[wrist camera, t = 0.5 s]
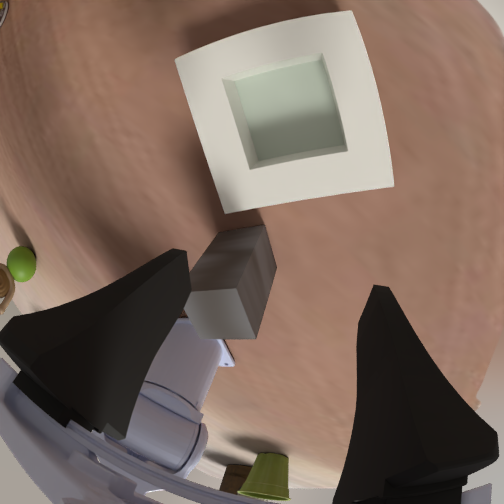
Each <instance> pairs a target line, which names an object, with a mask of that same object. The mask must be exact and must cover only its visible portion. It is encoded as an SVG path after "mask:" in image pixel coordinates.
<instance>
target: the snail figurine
mask: <svg viewBox="0 0 504 504" xmlns="http://www.w3.org/2000/svg"><path fill="white" fill-rule="evenodd" d="M35 270H36V259H35V256H34V254H33V253H32V251H31V250H30V249H28V248H26V247H23V246H19V247H16V248H14V249H13V250H12V251H11V252H10V253H9V255H8V258H7V266H6V265H4V264H1V263H0V298H3V297H5V298H4V300H3V302H2V303H1V304H0V314H3V312H5V309H6V308H7V306H8V305H9V303H10V301H11V300H12V298H13V295H14V292H15V283H14V280H16V281H18V282H26V281H28V280H29V279H31V278H32V276H33V275H34V273H35Z"/></svg>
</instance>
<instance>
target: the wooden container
mask: <svg viewBox="0 0 504 504" xmlns="http://www.w3.org/2000/svg"><path fill="white" fill-rule="evenodd" d="M251 469H252V467H250V466H244V465H228V466H227V468H226V471H225V474H224V477H223V480H222V483H221V486H220V491H223V492H227V493H231V494H235V495H239V496H243V497H247V498H252V499H256V500H262V501H267V502H268V500H267V499H260V498H255V497H250V496H246V495H243V494H240V493H238V492H237V491H239V490H240V489H241V487H242V485H243V483H245V481H246V479H247V477H248V475H249V473H250V471H251Z"/></svg>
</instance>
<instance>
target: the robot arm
mask: <svg viewBox="0 0 504 504" xmlns="http://www.w3.org/2000/svg"><path fill="white" fill-rule="evenodd" d="M191 291H192V288H191V281H190V274H189V267H188V260H187V252H186V251H184V250H178V249H171V250H169V251H167V252H165V253H163V254H162V255H160V256H158V257H156V258H155V259H153V260H151V261H150V262H148V263H146V264H145V265H143V266H141V267H140V268H138V269H136V270H134V271H133V272H131V273H129V274H128V275H126V276H124V277H122V278H120V279H118V280H117V281H115V282H113V283H111V284H109V285H108V286H106V287H104V288H102V289H100V290H98V291H95V292H93V293H91V294H89V295H86V296H84V297H82V298H79V299H76V300H74V301H71V302H68V303H66V304H63V305H60V306H57V307H54V308H51V309H47V310H43V311H39V312H35V313H30V314H25V315H20V316H14V317H13V318H11V320H10V321H9V322H8V323H7V324H6V325H5V326H4V328H3V329H2V330H1V331H0V345H1V347H2V348H3V349H4V350H5V352H6V353H7V354H8V355H9V356H10V358H11V359H12V360H13V361H14V362H15V364H16V365H17V366H18V367H19V368H20V369H21V371H20V372H19V374H17V373H16V371H15V370H14V369H13V368H12V367H10V365H8V363H7V362H6V361H5V360H4V359H3V358H0V435H1V437H2V439H3V440H4V442H5V443H6V445H7V446H8V448H9V449H10V450H11V452H12V453H13V455H14V457H15V458H16V459H17V461H18V462H19V463H20V465H21V466H22V468H23V469H24V470H25V471H26V473H27V474H28V475H29V477H30V478H31V479H32V480H33V481H34V483H35V484H36V485H37V486H38V487H39V489H40V490H41V491H42V492H43V493H44V494H45V495H46V496H47V497H48V498H49V500H50V501H51V502H52V503H53V504H162V503H160V502H158V501H155V500H153V499H151V498H148V497H146V496H145V494H146V493H147V492H151V491H160V490H166V491H168V492H171V493H173V494H176V495H178V496H181V497H184V498H186V499H189V500H192V501H195V502H198V503H201V504H278V503H273V502H267V501H262V500H256V499H252V498H247V497H243V496H239V495H235V494H231V493H227V492H223V491H220V490H216V489H213V488H210V487H206V486H203V485H200V484H197V483H194V482H192V481H189V480H186V477H187V476H188V474H189V473H190V471H191V470H193V469H194V467H195V466H196V465H197V464H198V462H199V460H200V459H201V457H202V455H203V453H204V450H205V447H206V444H207V441H208V431H207V428H206V425H205V424H204V423H201V420H202V418H203V414H202V413H200V410H201V408H202V406H203V403H204V401H205V398H206V396H207V393H208V391H209V388H210V386H211V383H212V381H213V378H214V376H215V373H216V371H217V368H218V366H228V367H233V366H234V365H235V362H234V360H233V358H232V356H231V354H230V352H229V350H228V348H227V346H226V344H225V342H224V340H223V339H200V338H199V336H198V334H197V332H196V330H195V329H194V327H193V325H192V323H191V321H190V320H189V318H179V316H180V314H181V313H182V311H183V309H184V307H185V304H186V302H187V300H188V298H189V295H190V293H191ZM356 348H357V401H356V411H355V417H354V424H353V430H352V435H351V440H350V444H349V449H348V453H347V457H346V461H345V464H344V468H343V472H342V475H341V478H340V481H339V484H338V487H337V490H336V492H335V495H334V498H333V503H332V504H491V489H492V484H490V483H489V484H486V485H484V486H481V487H477V488H474V489H471V490H468V491H465V492H462V486H464V485H466V484H467V479H468V478H467V477H468V475H470V474H472V473H474V472H477V471H478V470H481V469H483V468H485V467H487V466H489V465H490V464H492V463H493V462H495V461H496V460H497V459H498V457H499V447H498V435H497V432H496V431H495V430H494V429H493V428H492V427H490V426H489V425H488V424H487V423H486V422H485V421H484V420H483V419H481V417H479V415H478V414H476V412H475V411H474V410H473V409H472V408H471V407H470V406H469V405H468V404H467V403H466V402H465V401H464V400H463V398H462V397H461V396H460V395H459V394H458V393H457V391H456V390H455V389H454V388H453V386H452V385H451V384H450V383H449V382H448V380H447V379H446V378H445V376H444V375H443V374H442V372H441V371H440V369H439V368H438V367H437V365H436V364H435V363H434V361H433V360H432V358H431V357H430V355H429V354H428V352H427V351H426V349H425V347H424V346H423V344H422V343H421V341H420V340H419V338H418V336H417V335H416V333H415V331H414V330H413V328H412V326H411V324H410V323H409V321H408V319H407V318H406V316H405V314H404V312H403V311H402V309H401V307H400V305H399V304H398V302H397V300H396V298H395V297H394V295H393V293H392V291H391V290H390V288H389V287H386V286H380V285H373V288H372V290H371V293H370V296H369V298H368V301H367V303H366V306H365V308H364V310H363V313H362V315H361V317H360V320H359V322H358V333H357V346H356ZM92 430H93V431H92ZM91 432H92V433H91ZM121 444H122V445H121ZM130 449H131V450H130ZM96 455H97V456H96ZM97 457H98V459H99V461H100V462H101V463H99V462H98V460H97Z"/></svg>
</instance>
